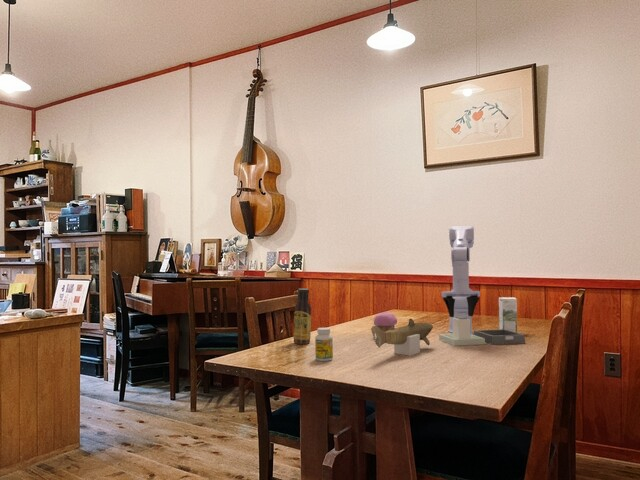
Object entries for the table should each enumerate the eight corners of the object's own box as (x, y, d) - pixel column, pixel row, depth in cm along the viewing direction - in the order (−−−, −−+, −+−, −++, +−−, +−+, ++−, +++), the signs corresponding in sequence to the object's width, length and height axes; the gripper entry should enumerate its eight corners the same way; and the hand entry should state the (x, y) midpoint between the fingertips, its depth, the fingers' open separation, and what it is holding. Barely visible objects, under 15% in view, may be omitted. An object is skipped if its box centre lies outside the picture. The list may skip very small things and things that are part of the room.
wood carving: (360, 361, 149) (359, 324, 150) (419, 344, 175) (419, 313, 176) (384, 365, 143) (384, 327, 144) (442, 347, 169) (441, 315, 170)
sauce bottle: (290, 344, 177) (290, 289, 178) (297, 341, 183) (297, 287, 183) (307, 345, 175) (306, 289, 175) (313, 342, 181) (313, 288, 181)
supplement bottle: (334, 358, 154) (334, 327, 154) (330, 361, 149) (329, 330, 149) (318, 357, 155) (318, 326, 156) (313, 360, 150) (313, 329, 150)
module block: (453, 339, 182) (452, 316, 182) (464, 339, 183) (463, 316, 183) (458, 341, 177) (458, 318, 177) (470, 341, 178) (469, 317, 178)
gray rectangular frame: (473, 338, 187) (473, 330, 187) (504, 336, 190) (504, 329, 190) (493, 345, 174) (493, 336, 174) (525, 343, 176) (525, 335, 176)
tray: (439, 339, 185) (439, 334, 185) (468, 338, 187) (468, 333, 187) (454, 345, 173) (454, 339, 173) (484, 344, 175) (484, 338, 175)
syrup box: (513, 332, 201) (512, 296, 201) (517, 334, 195) (517, 298, 195) (498, 331, 202) (498, 296, 202) (502, 334, 196) (502, 298, 196)
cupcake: (400, 337, 190) (400, 311, 190) (391, 340, 183) (391, 314, 183) (379, 335, 195) (379, 310, 195) (369, 338, 187) (369, 312, 188)
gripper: (447, 280, 175) (447, 318, 175) (484, 279, 178) (484, 317, 178) (438, 279, 182) (439, 316, 182) (474, 278, 185) (474, 314, 185)
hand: (461, 316), depth 180 cm, fingers open, 7 cm apart
